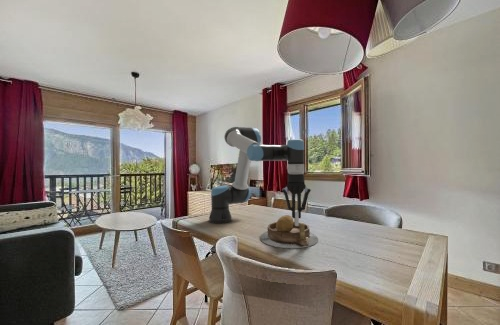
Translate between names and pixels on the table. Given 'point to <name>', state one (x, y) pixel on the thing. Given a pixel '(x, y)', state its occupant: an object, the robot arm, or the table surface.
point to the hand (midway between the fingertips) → (296, 225)
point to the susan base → (292, 245)
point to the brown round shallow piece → (290, 233)
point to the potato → (285, 224)
